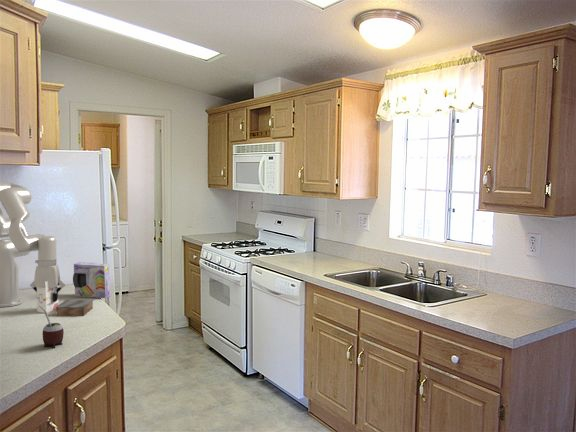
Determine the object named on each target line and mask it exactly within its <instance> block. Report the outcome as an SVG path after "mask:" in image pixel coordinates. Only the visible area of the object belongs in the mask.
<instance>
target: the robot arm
mask: <svg viewBox="0 0 576 432" xmlns="http://www.w3.org/2000/svg"><path fill="white" fill-rule="evenodd" d="M31 201H32V193H31V191H30V190H29V189H28V188H27V187H25V186H23V185H18V184H17V183H14V182H10V181H0V202H1V206H3V209H4V210H5V212H6V214H7V216H8V217H6V216H5V215H4V213H3V210H2V209H1V207H0V308H6V307H14V306H18V305H21V304H22V303H23V299H22V298H20V295H19V287H20V286H19V267H18V266H19V265H18V263H17V261H16V260H15V258H18V257H19V258H20V257H23V256H27V255H29V254H30V253H31V252H37V259H36V260H35V262H34V263H35V264H37V265H36V266H35V270H34V280H33V281H32V282H31V283H30V284H29V287H31V288H32V289H33V291H35V292H36V294H37V287H45V282H46V281H48V286H49V288H52V289H53V291H54V293H53V302H55V301H57V299H58V300H59V293H60V292H61V290H62V289H63V288H64V287H65V286H66V284H65V283H64V282H63V281H62V280H61V275H60V269H59V265H58V264H57V238H56V237H55V236H52V235H51V236H50V235H44V234H40V233H39V234H38V233H37V234H30V235H29V234H28V232H27V229H26V227H25V225H24V222H25V221H26V220H27V219H29V218H30V215H31V214H30V210H29V209H28V207H27V206H26V205H28V204H29V203H31ZM1 238H2V239H1ZM57 286H58V287H57Z"/></svg>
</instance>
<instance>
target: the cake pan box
mask: <svg viewBox="0 0 576 432" xmlns="http://www.w3.org/2000/svg"><path fill="white" fill-rule="evenodd" d="M72 275H73V276H72V285H73V286H74V296H75V297H82V298H83V297H84V298H98V299H107V298H109V297H110V296H111V285H110V284H111V283H110V265H109V263H97V262H84V261H78V262H75V263H73V274H72Z"/></svg>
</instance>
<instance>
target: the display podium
mask: <svg viewBox="0 0 576 432" xmlns="http://www.w3.org/2000/svg"><path fill="white" fill-rule="evenodd" d="M93 302H94V299H65V300H63V301H62V302H61V303H58V306H57V307H56V309H55V313H56V317H57V316H58V317H59V316H61V317H62V316H63V317H65V316H66V317H69V316H70V317H73V316H74V317H84V316H85V315H87V314H88V313H89V312H90V311H91V310H92V309H93V307H94V306H93V304H94V303H93Z"/></svg>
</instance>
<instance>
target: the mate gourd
mask: <svg viewBox="0 0 576 432" xmlns="http://www.w3.org/2000/svg"><path fill="white" fill-rule="evenodd" d="M39 307H40V308H41V309H42V310H43V311H44V313H43V314H45V316H46V320H47V322H48V323H47V324H46V325H45V326H44V327H43V329H42V341H43V344H44V345H43V347H44V348H51V347H52V349H56V346H61V345H63V343H64V342H63V340H64V334H65V332H64V327H63V325H62V324H61V323H59V322H53V323H52V322H51V320H50V318H49V315H48V313H47V311H45V309H44V308H42V307H41V306H39Z"/></svg>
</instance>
